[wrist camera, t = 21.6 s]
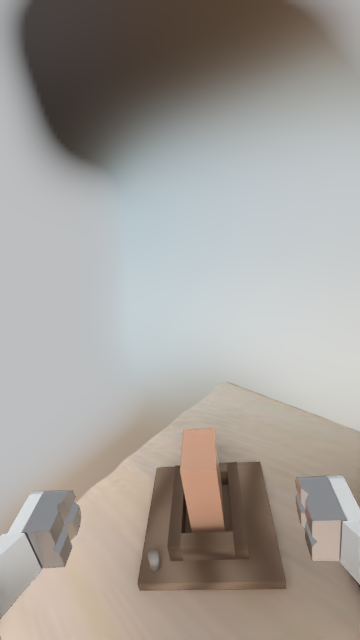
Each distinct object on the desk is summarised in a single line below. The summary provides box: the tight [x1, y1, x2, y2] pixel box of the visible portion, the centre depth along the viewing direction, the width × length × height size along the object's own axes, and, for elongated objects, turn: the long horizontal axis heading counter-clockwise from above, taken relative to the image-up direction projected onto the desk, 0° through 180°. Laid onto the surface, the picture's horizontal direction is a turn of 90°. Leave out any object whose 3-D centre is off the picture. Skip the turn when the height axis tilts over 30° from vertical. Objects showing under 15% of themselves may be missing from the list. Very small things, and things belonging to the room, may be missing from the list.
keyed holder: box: [138, 462, 286, 590], centre depth 41 cm, size 16×16×4 cm
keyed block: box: [180, 428, 225, 533], centre depth 40 cm, size 4×6×11 cm, turn 177°
